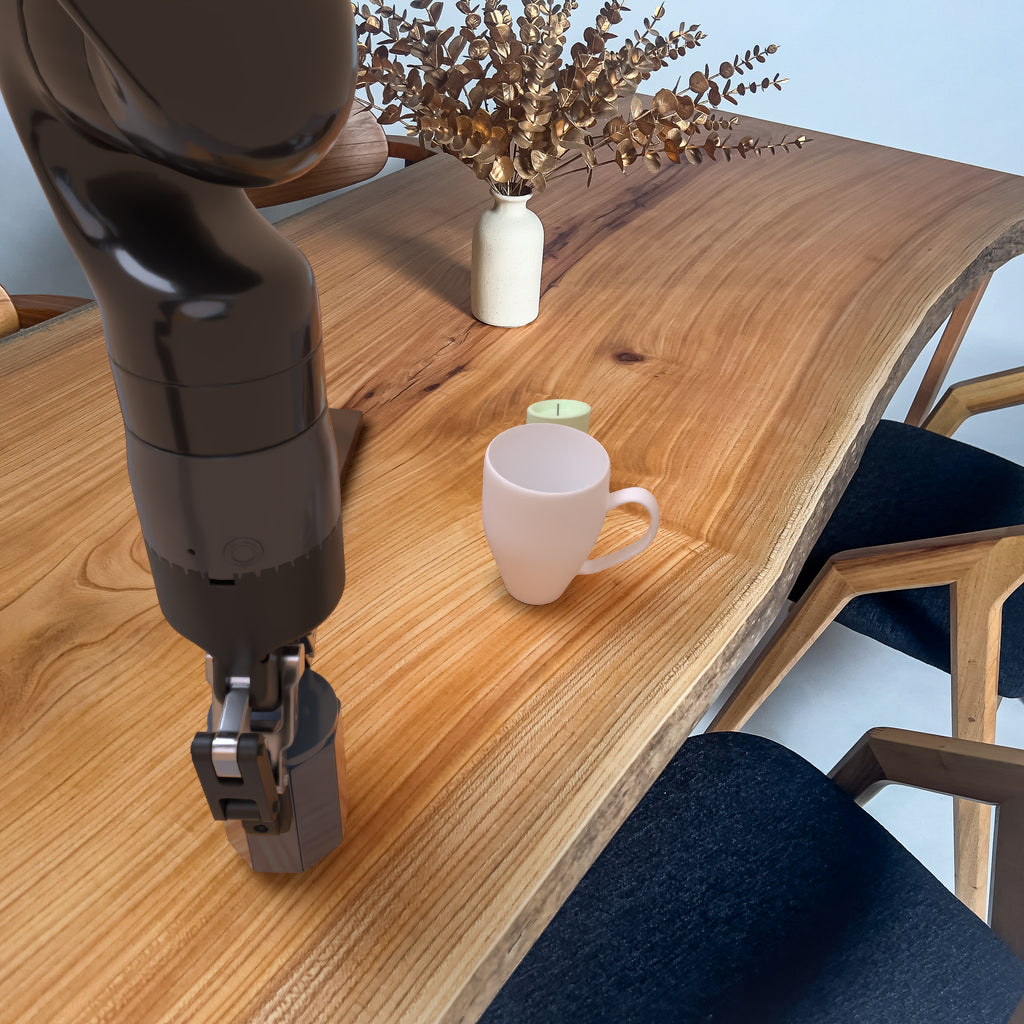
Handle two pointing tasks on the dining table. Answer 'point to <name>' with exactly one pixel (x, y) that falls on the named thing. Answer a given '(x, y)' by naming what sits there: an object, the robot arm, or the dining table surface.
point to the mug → (551, 508)
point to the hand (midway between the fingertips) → (281, 767)
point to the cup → (304, 786)
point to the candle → (561, 413)
